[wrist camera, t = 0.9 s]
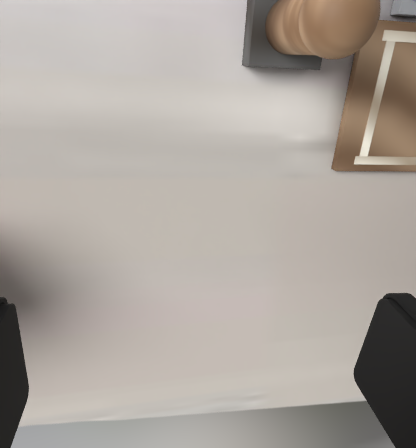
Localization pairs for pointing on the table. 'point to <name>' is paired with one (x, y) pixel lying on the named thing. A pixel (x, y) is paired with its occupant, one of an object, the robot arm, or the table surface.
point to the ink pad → (404, 8)
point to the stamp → (306, 31)
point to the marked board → (381, 103)
